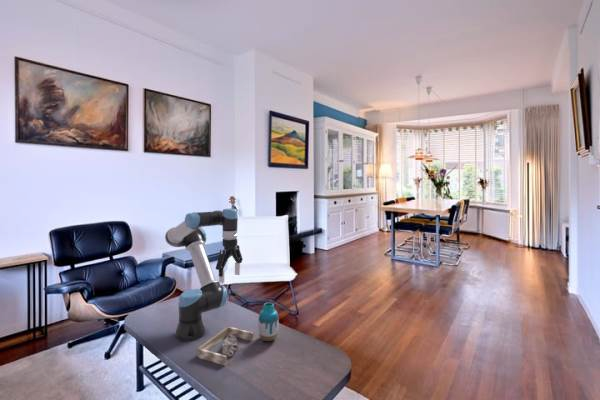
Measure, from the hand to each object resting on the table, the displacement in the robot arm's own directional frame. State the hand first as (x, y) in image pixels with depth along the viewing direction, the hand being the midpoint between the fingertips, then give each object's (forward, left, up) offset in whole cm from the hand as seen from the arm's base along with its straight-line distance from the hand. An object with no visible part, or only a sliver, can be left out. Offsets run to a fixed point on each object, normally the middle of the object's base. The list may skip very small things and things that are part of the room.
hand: (229, 278), depth 157 cm
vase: (+19, +8, -33) cm, 39 cm away
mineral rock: (+6, -8, -33) cm, 35 cm away
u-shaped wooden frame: (+4, -8, -33) cm, 34 cm away
